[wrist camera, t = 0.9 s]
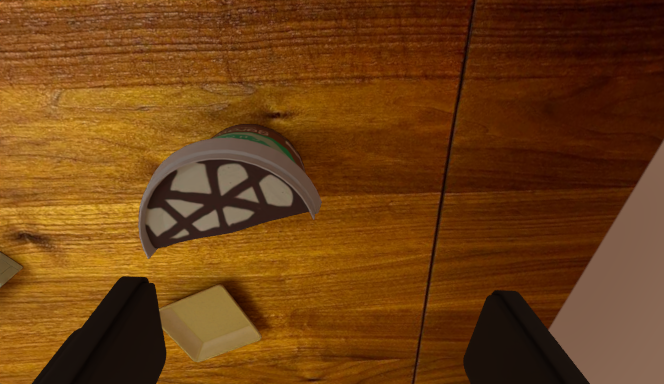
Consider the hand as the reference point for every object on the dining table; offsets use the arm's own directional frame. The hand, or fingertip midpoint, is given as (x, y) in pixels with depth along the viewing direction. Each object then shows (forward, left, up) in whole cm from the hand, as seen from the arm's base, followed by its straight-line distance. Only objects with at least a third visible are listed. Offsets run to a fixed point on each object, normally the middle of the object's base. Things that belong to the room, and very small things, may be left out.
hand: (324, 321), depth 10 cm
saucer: (+9, -22, -22) cm, 32 cm away
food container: (-3, -6, -22) cm, 23 cm away
